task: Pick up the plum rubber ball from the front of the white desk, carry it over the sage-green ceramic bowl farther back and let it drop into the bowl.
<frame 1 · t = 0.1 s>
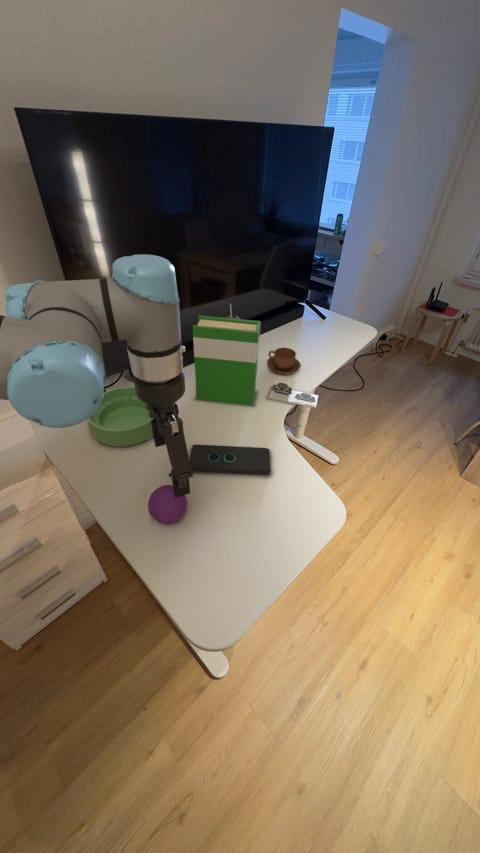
hand: (171, 467, 65), 15 cm above the table, tool pointing down, fingers open, 13 cm apart
ceramic cat: (169, 358, 125), on the table
smart home device: (229, 462, 87), on the table
beverage cup: (231, 356, 128), on the table
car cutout: (293, 398, 110), on the table
bowl: (128, 423, 97), on the table
hardback book: (226, 396, 109), on the table
cup and saucer: (283, 368, 123), on the table
ball: (167, 504, 72), point 4 cm above the table
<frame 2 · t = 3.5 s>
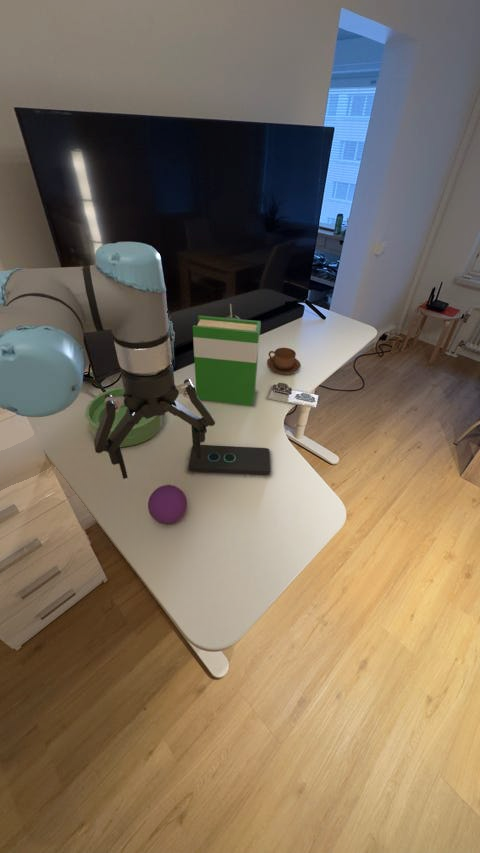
hand: (161, 463, 64), 17 cm above the table, tool pointing down, fingers open, 13 cm apart
nothing on the table moved.
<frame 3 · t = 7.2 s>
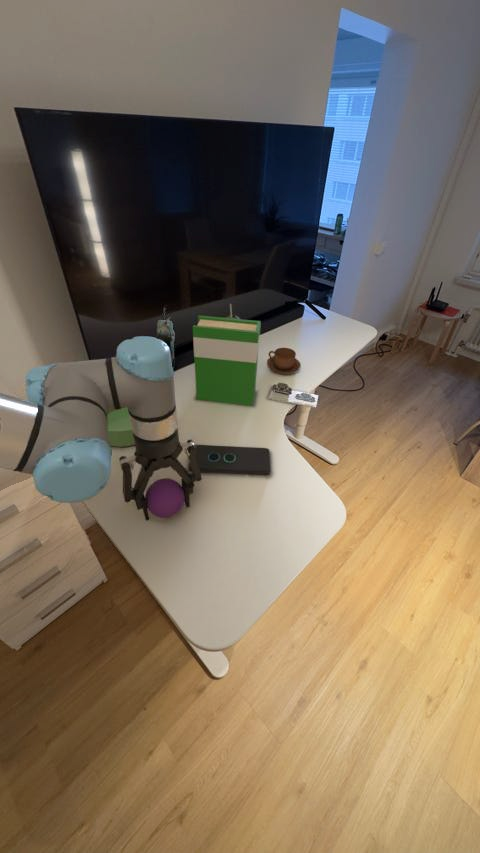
hand: (166, 508, 73), 3 cm above the table, tool pointing down, fingers closed on ball, 8 cm apart
ball: (165, 497, 70), point 6 cm above the table, touching gripper
everything else where it was.
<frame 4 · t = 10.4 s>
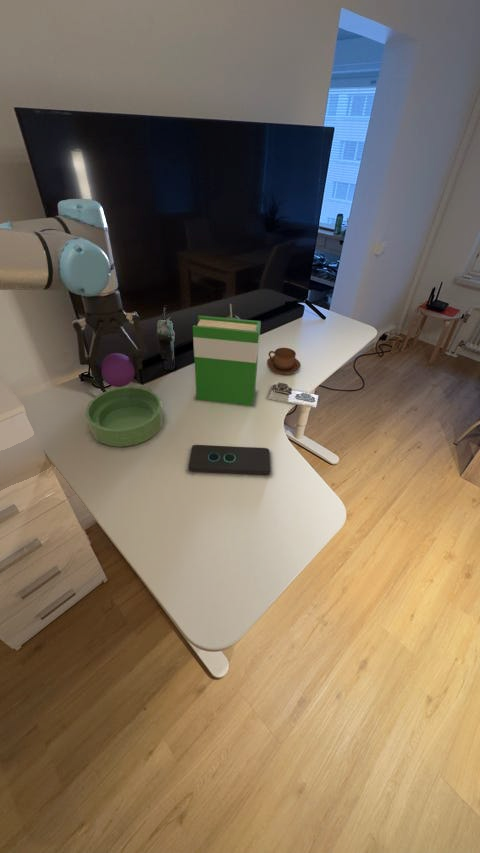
hand: (120, 382, 85), 15 cm above the table, tool pointing down, fingers closed on ball, 8 cm apart
ball: (117, 370, 82), point 19 cm above the table, touching gripper
everything else where it was.
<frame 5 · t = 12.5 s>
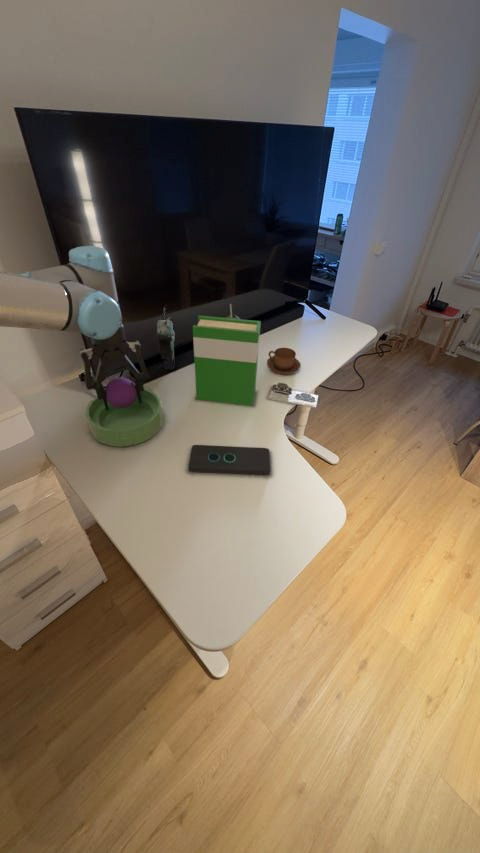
hand: (123, 404, 92), 7 cm above the table, tool pointing down, fingers closed on ball, 8 cm apart
ball: (121, 392, 90), point 11 cm above the table, touching gripper
everything else where it was.
when the fingers open (4 cm above the table, at t = 13.9 s): ball drops 3 cm, resting on bowl.
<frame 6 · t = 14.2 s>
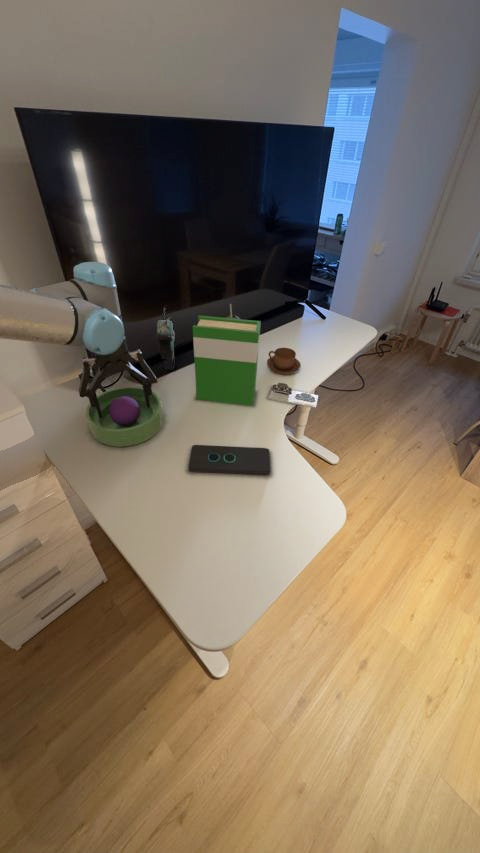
hand: (124, 409, 93), 5 cm above the table, tool pointing down, fingers open, 12 cm apart
ball: (124, 411, 94), point 5 cm above the table, touching bowl
everything else where it was.
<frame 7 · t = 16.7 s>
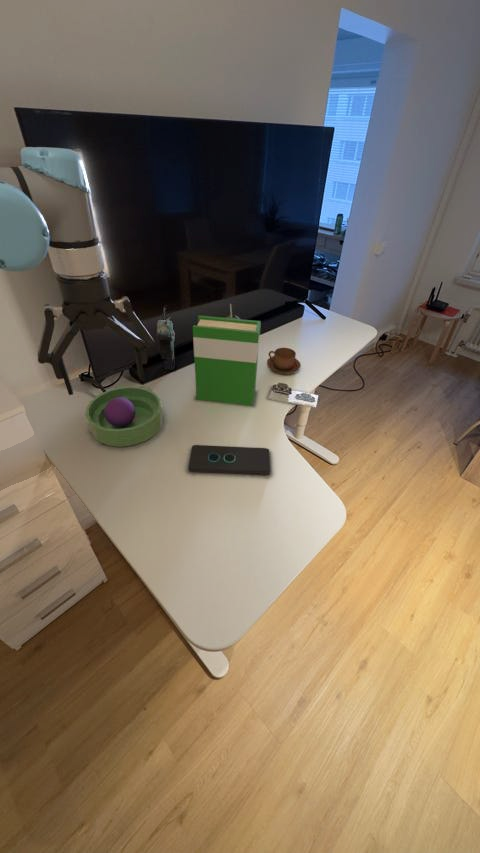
hand: (107, 384, 68), 25 cm above the table, tool pointing down, fingers open, 13 cm apart
ball: (119, 412, 93), point 5 cm above the table, tilted 21°, touching bowl
everything else where it was.
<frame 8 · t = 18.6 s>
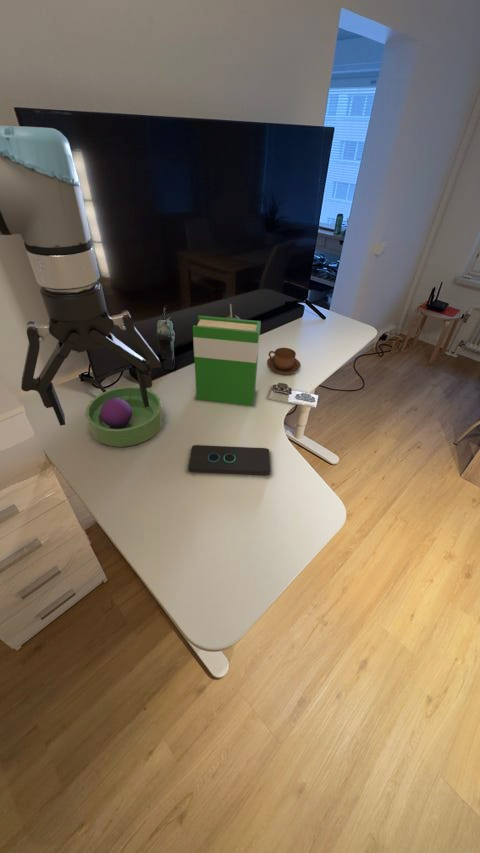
hand: (105, 411, 58), 27 cm above the table, tool pointing down, fingers open, 13 cm apart
ball: (116, 412, 93), point 5 cm above the table, tilted 34°, touching bowl
everything else where it was.
at the end: ball 2.4 cm from the bowl (horizontally); the gripper is holding nothing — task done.
